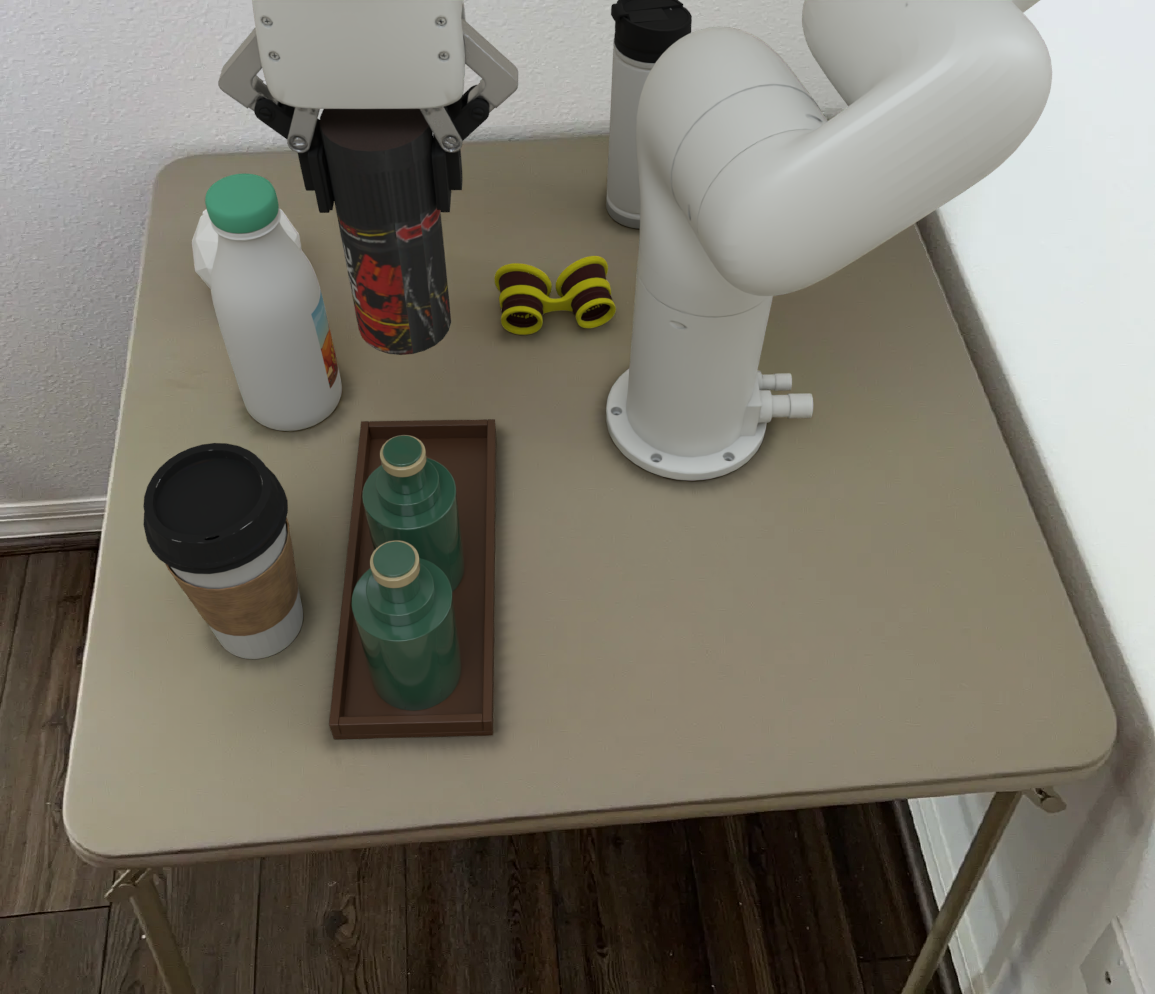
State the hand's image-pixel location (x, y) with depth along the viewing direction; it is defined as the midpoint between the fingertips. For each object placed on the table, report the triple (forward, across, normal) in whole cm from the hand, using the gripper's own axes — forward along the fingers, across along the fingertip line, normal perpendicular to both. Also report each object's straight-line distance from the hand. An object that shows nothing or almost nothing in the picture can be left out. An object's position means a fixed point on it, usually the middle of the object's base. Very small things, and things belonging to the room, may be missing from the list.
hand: (386, 194), depth 64 cm
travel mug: (+26, -18, -32) cm, 45 cm away
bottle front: (+26, 0, +17) cm, 30 cm away
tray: (+26, 0, +9) cm, 28 cm away
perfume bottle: (+26, +16, -22) cm, 38 cm away
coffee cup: (+26, +11, +12) cm, 31 cm away
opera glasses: (+26, -10, -18) cm, 33 cm away
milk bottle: (+26, +11, -8) cm, 30 cm away
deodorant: (+10, 0, 0) cm, 10 cm away
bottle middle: (+26, 0, +9) cm, 27 cm away
